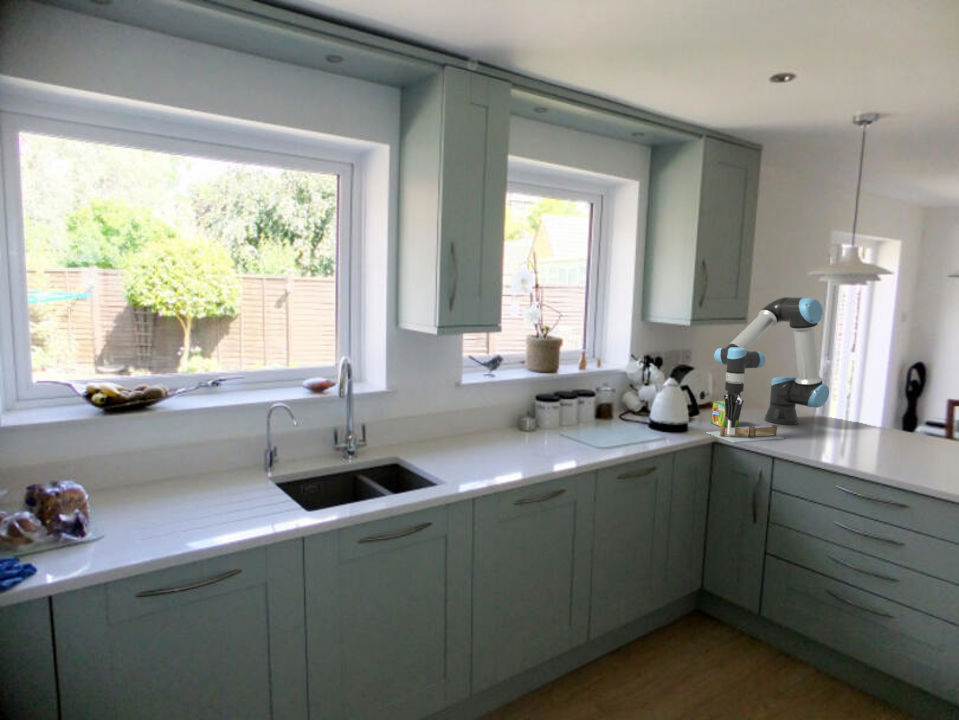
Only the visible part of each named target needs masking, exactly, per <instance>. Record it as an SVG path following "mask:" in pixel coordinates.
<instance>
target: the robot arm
mask: <svg viewBox="0 0 959 720" xmlns="http://www.w3.org/2000/svg"><path fill="white" fill-rule="evenodd" d="M823 314H824V313H823V306H822V304H821V303H820V301H818V299H815V298H813V297H788V296H787V297H781V298H777V299H775V300H773V301H771V302H770V303H767V304H766V306H764V307H763V308H762V309H761V310H759V312H758V314H757V317H756V318H754V319H753V321H751V322H750V323H749V324H748V325H747V326H746V327H745V328H744V329H743V330H742V331H741V332H740V333H739V334H737V336H736V337H735V338H734V339H732V341H730V343H729V344H728V345H726V347H719V348H717V349H716V350H715V352H714V354H713V357H714V361H715V362H716V363H718V364H721V365H724V366H725V365H726V370H725V371H726V372H725V381H726V382H725V385H724V390H725V391H727V392H726V394H724V395H723V401H724V400H725V416H726V417H727V419H728V427H727V428H728V430H727V434H729V435H735V428H736V427H735V423H736V420H739V421H740V416H741V412H742V407H743V405H744V399H742V398H741V397H742V396H741V392H744V388H745V387H744V386H745V384H744V382H745V371H746V369H758V368H762V367H763V366H764V365H765V363H766V355H765V354H764V353H763V352H762V351H757V350H753V351H751V350H749V348H750V347H751V346H752V345H754V343H755V342H756V341H758V340H759V339H760V338H761V336H762V335H763V334H765V333H766V332H767V330H769V329H770V328H771V327H774V326H776V325H777V324H778V323H782V322H789V328H790V329H791V330H793V337H794V347H795V358H796V369H797V376H777V377H773V378H772V379H771V385H770V395H769V396H770V397H769V406H768V409H767V412H766V414H765V415H764V420H765V421H766V422H769V423H772V424H778V425H789V426H792V425H797V424H799V418H798V413H797V409H796V405H799V406H800V405H801V406H803V407H804V406H805V407H809V408H821V407H823V406H824V405H825V404H826V403H827V401H828V398H829V395H830V388H829V386H828V385H827V384H824V383H823V378H822V377H821V376H820V375H819V368H818V357H817V344H816V343H817V342H816V332H815V328H817V326H818V324H819V322H821V320H822V318H823V317H822V316H823Z"/></svg>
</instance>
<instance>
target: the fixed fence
mask: <svg viewBox="0 0 959 720" xmlns="http://www.w3.org/2000/svg"><path fill="white" fill-rule="evenodd" d="M748 429H749V434H748V437H751V438H754V436H755V437H757V436H771V435H773V436H776V435H777V432H778V431H777V430H778V425H776V424H775V425H774V424H772V426H766V427H765V426H764V427H762V426H761V427H755V426H748Z"/></svg>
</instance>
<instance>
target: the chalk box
mask: <svg viewBox="0 0 959 720" xmlns="http://www.w3.org/2000/svg"><path fill="white" fill-rule="evenodd" d="M710 421H711V422H710V424H712V425H714V426H718V427H720V428H721V426H725V428H728V419H727V417H726V416H725V400H724V399H723V400H713V402H712V413H711V420H710ZM739 421H740V419H739V420H736V423H735V428H739Z"/></svg>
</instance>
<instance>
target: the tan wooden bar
mask: <svg viewBox="0 0 959 720" xmlns="http://www.w3.org/2000/svg"><path fill="white" fill-rule="evenodd" d="M748 429H749V427H748V428H747V427H735V435H729V434H727V430H728V427H725V426H721V427H720V430H719V431H720V436H739V437H748Z"/></svg>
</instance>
